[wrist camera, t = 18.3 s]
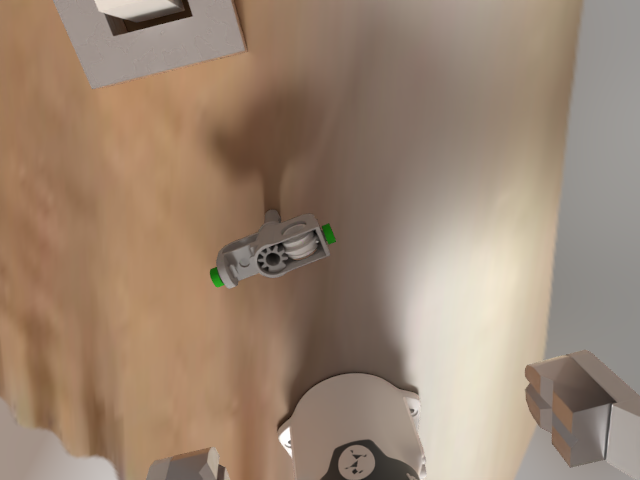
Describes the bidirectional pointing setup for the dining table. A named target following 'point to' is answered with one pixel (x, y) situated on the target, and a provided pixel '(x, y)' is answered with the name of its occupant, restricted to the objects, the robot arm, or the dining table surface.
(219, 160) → the dining table surface
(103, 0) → the plug
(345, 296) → the dining table surface
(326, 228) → the mechanical component
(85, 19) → the grey square socket base
